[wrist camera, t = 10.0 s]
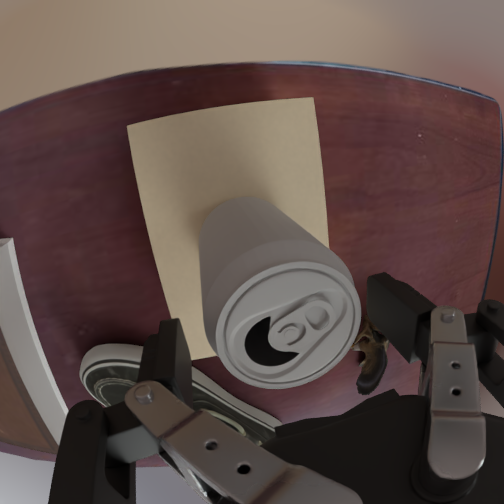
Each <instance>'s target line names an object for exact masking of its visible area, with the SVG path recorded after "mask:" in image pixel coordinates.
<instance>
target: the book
mask: <svg viewBox="0 0 504 504" xmlns="http://www.w3.org/2000/svg"><path fill="white" fill-rule="evenodd" d="M67 413H68V409H67V407H66V405H65V402H64V400H63V398H62V396H61V394H60V392H59V389H58V387H57V385H56V382H55V380H54V378H53V375H52V373H51V370H50V368H49V365H48V363H47V360H46V358H45V355H44V352H43V350H42V347H41V344H40V341H39V338H38V335H37V332H36V329H35V326H34V323H33V320H32V317H31V314H30V310H29V307H28V303H27V300H26V296H25V292H24V288H23V284H22V280H21V276H20V272H19V267H18V263H17V258H16V253H15V248H14V242H13V238H5V239H0V441H1V442H4V443H8V444H12V445H16V446H19V447H24V448H28V449H32V450H37V451H41V452H46V453H52V454H57V453H58V448H59V444H60V440H61V435H62V431H63V427H64V423H65V420H66V416H67Z"/></svg>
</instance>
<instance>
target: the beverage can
mask: <svg viewBox="0 0 504 504" xmlns="http://www.w3.org/2000/svg"><path fill="white" fill-rule="evenodd" d="M199 262H200V279H201V295H202V309H203V322H204V329H205V334H206V337H207V340H208V342H209V344H210V346H211V348H212V349H213V351H214V352H215V353H216V355H217V356H218V357H219V358H220V359H221V361H222V363H223V364H224V366H225V367H226V368H227V369H228V371H229V372H230V373H231V374H233V375H234V376H235V377H236V378H238V379H239V380H241V381H243V382H245V383H247V384H250V385H253V386H256V387H261V388H267V389H283V388H290V387H295V386H299V385H302V384H305V383H308V382H310V381H312V380H314V379H316V378H318V377H320V376H322V375H323V374H325V373H326V372H328V371H329V370H330V369H332V368H333V367H334V366H335V365H336V364H337V363H338V362H339V361H340V360H341V359H342V358H343V357H344V356H345V355H346V353H347V352H348V350H349V349H350V347H351V346H352V344H353V342H354V340H355V338H356V336H357V333H358V330H359V326H360V321H361V305H360V299H359V296H358V294H357V291H356V289H355V286H354V282H353V279H352V276H351V274H350V272H349V270H348V268H347V267H346V265H345V264H344V262H343V261H342V260H341V259H340V258H339V257H338V256H337V255H336V254H335V253H333V252H332V251H331V250H330V249H329V248H327V247H326V246H325V245H324V244H322V243H321V242H320V241H319V240H317V239H316V238H315V237H314V236H312V235H311V234H310V233H309V232H307V231H306V230H305V229H304V228H302V227H301V226H300V225H299V224H297V223H296V222H295V221H294V220H292V219H291V218H290V217H288V216H287V215H286V214H285V213H283V212H282V211H281V210H279V209H278V208H277V207H276V206H274V205H273V204H271V203H269V202H268V201H265V200H263V199H260V198H256V197H238V198H234V199H230V200H228V201H226V202H224V203H222V204H220V205H219V206H217V207H216V208H215V209H214V210H213V211H212V212H211V213H210V214H209V215H208V217H207V218H206V220H205V221H204V223H203V225H202V228H201V230H200V234H199Z"/></svg>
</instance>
